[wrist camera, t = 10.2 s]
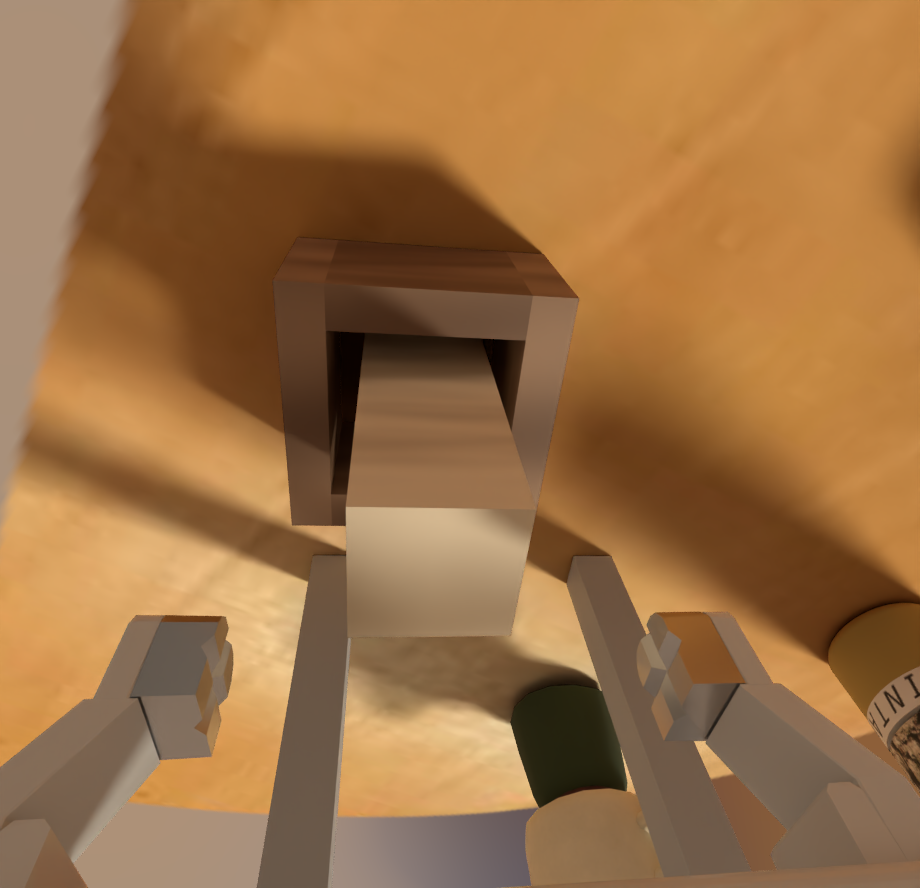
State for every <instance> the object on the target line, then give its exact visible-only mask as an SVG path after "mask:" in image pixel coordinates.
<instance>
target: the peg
mask: <svg viewBox="0 0 920 888" xmlns="http://www.w3.org/2000/svg"><path fill="white" fill-rule="evenodd" d="M535 514H536V507H535V503H534V500H533V497H532V494H531V491H530V488H529V485H528V482H527V479H526V475H525V472H524V469H523V466H522V463H521V460H520V457H519V454H518V451H517V448H516V444H515V441H514V438H513V435H512V432H511V429H510V426H509V423H508V420H507V417H506V413H505V410H504V407H503V404H502V401H501V398H500V395H499V392H498V389H497V386H496V382H495V379H494V376H493V373H492V370H491V367H490V364H489V361H488V358H487V354H486V351H485V348H484V345H483V342H482V339H481V338H463V337H443V336H423V335H403V334H382V333H365V339H364V348H363V357H362V366H361V375H360V384H359V392H358V401H357V410H356V419H355V428H354V437H353V446H352V455H351V464H350V473H349V482H348V491H347V500H346V567H347V638H385V637H458V636H511V631H512V627H513V622H514V617H515V612H516V607H517V602H518V597H519V592H520V588H521V583H522V578H523V573H524V568H525V563H526V558H527V553H528V549H529V544H530V539H531V534H532V529H533V524H534V519H535Z"/></svg>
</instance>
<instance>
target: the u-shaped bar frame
mask: <svg viewBox="0 0 920 888" xmlns="http://www.w3.org/2000/svg"><path fill="white" fill-rule="evenodd" d="M567 587H568V590H569V593H570V596H571V599H572V602H573V605H574V608H575V611H576V614H577V617H578V620H579V623H580V626H581V629H582V632H583V635H584V638H585V641H586V644H587V647H588V650H589V653H590V656H591V659H592V662H593V665H594V668H595V671H596V674H597V677H598V680H599V683H600V686H601V689H602V692H603V695H604V698H605V701H606V704H607V707H608V710H609V713H610V716H611V719H612V722H613V725H614V728H615V731H616V734H617V737H618V740H619V743H620V746H621V749H622V752H623V755H624V758H625V761H626V764H627V767H628V770H629V773H630V776H631V779H632V782H633V785H634V788H635V791H636V794H637V797H638V800H639V803H640V806H641V809H642V812H643V815H644V818H645V821H646V824H647V827H648V830H649V833H650V836H651V839H652V842H653V845H654V848H655V851H656V854H657V857H658V860H659V863H660V866H661V869H662V872H663V875H664V877H675V876H690V875H705V874H721V873H736V872H752V871H751V869H750V867H749V865H748V862H747V860H746V858H745V856H744V853H743V851H742V849H741V847H740V844H739V842H738V840H737V838H736V835H735V833H734V831H733V829H732V827H731V824H730V822H729V820H728V818H727V815H726V813H725V811H724V809H723V806H722V804H721V802H720V799H719V797H718V795H717V793H716V791H715V788H714V786H713V784H712V781H711V779H710V777H709V775H708V772H707V770H706V768H705V766H704V763H703V761H702V759H701V757H700V754H699V752H698V750H697V748H696V745H695V743H694V741H664V740H663V738H662V735H661V733H660V730H659V727H658V725H657V722H656V720H655V717H654V715H653V712H652V709H651V707H652V704H653V701H654V697H653V696H652V695H651V694H650V693H649V692H648V691H647V690H645V689H644V688H643V686H642V683H641V680H640V678H639V674H638V669H637V648H638V646H639V643H640V640H641V639H642V638H643V637H645V636H646V633H645V631H644V628H643V626H642V624H641V622H640V619H639V617H638V615H637V613H636V610H635V608H634V606H633V604H632V602H631V599H630V597H629V595H628V593H627V590H626V588H625V586H624V584H623V581H622V579H621V577H620V575H619V572H618V570H617V568H616V566H615V563H614V561H613V559H612V557H611V556H574V557H573V560H572V564H571V568H570V572H569V576H568V580H567ZM350 645H351V638H347V567H346V555H313V558H312V564H311V570H310V575H309V581H308V587H307V593H306V599H305V605H304V611H303V617H302V623H301V629H300V635H299V641H298V646H297V652H296V658H295V664H294V670H293V676H292V682H291V688H290V694H289V700H288V706H287V712H286V718H285V723H284V729H283V735H282V741H281V747H280V753H279V759H278V765H277V771H276V777H275V783H274V789H273V795H272V800H271V806H270V812H269V818H268V825H267V831H266V836H265V842H264V848H263V854H262V860H261V866H260V872H259V877H258V884H257V888H332V877H333V865H334V853H335V840H336V827H337V814H338V801H339V788H340V775H341V762H342V749H343V736H344V723H345V710H346V697H347V684H348V671H349V658H350Z"/></svg>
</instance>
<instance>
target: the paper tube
mask: <svg viewBox="0 0 920 888" xmlns="http://www.w3.org/2000/svg"><path fill="white" fill-rule="evenodd" d="M828 663H829V666H830V668H831V670H832V672H833V673H834V674H835V676H836V677H837V678H838V680H839V681H840V683H841V684H842V685H843V687H844V688H845V690H846V691H847V692H848V694H849V695H850V696H851V698H852V699H853V701H854V702H855V703H856V705H857V706H858V707H859V709H860V710H861V712H862V713H863V714H864V716H865V717H866V718H867V720H868V721H869V723H870V725H871V726H872V727H873V729H874V730H875V732H876V733H877V734H878V736H879V737H880V738H881V740H882V741H883V743H884V744H885V745H886V747H887V748H888V749H889V751H890V752H891V753H892V755H893V756H894V758H895V759H896V760H897V762H898V763H899V765H900V766H901V767H902V769H903V770H904V771H905V773H906V774H907V776H908V777H909V778H910V780H911V781H912V783H913V784H914V785H915V786H916V788H917V789H918V791H919V792H920V605H919V604H915V603H895V604H889V605H884V606H881V607H878V608H875V609H872V610H870V611H867V612H865V613H863V614H861V615H860V616H858V617H856V618H855V619H853V620H852V621H850V622H849V623H848V624H846V625H845V626H844V627H843V628H842V629H841V630H840V631H839V632H838V633H837V635H836V636H835V637H834V639H833V640H832V642H831V644H830V647H829V650H828Z"/></svg>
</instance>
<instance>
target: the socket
mask: <svg viewBox="0 0 920 888" xmlns="http://www.w3.org/2000/svg"><path fill="white" fill-rule="evenodd" d="M273 293H274V306H275V318H276V331H277V343H278V356H279V368H280V381H281V393H282V406H283V419H284V431H285V444H286V456H287V469H288V481H289V494H290V507H291V519H292V525H314V526H346V500H347V491H348V482H349V473H350V464H351V455H352V446H353V437H354V428H355V422H342V399H341V347H340V331H342V332H362V333H382V334H403V335H423V336H443V337H463V338H484V339H495V341H494V349H493V356H492V364H491V370H492V373H493V376H494V379H495V382H496V386H497V389H498V392H499V395H500V398H501V401H502V404H503V407H504V410H505V413H506V417H507V420H508V423H509V426H510V429H511V432H512V435H513V438H514V441H515V444H516V448H517V451H518V454H519V457H520V460H521V463H522V466H523V469H524V472H525V475H526V479H527V482H528V485H529V488H530V491H531V494H532V497H533V500H534V503H535V507H536V510H537V505H538V501H539V496H540V491H541V486H542V481H543V476H544V471H545V466H546V461H547V456H548V451H549V446H550V441H551V436H552V431H553V426H554V421H555V416H556V411H557V406H558V401H559V396H560V391H561V386H562V381H563V376H564V371H565V366H566V362H567V357H568V352H569V347H570V342H571V337H572V332H573V327H574V322H575V317H576V312H577V307H578V302H579V298H578V296H577V295H576V294H575V293H574V291H573V290H572V289H571V288H570V287H569V285H568V284H567V283H566V282H565V280H564V279H563V278H562V277H561V275H560V274H559V273H558V272H557V270H556V269H555V268H554V267H553V265H552V264H551V263H550V262H549V260H548V259H547V258H546V257H545V255H544V254H535V253H521V252H506V251H492V250H477V249H462V248H448V247H433V246H419V245H404V244H390V243H375V242H360V241H346V240H331V239H317V238H302V237H297V239H296V241H295V242H294V244H293V246H292V248H291V249H290V251H289V253H288V255H287V256H286V258H285V260H284V261H283V263H282V265H281V267H280V268H279V270H278V272H277V273H276V275H275V277H274V279H273ZM535 515H536V514H535ZM534 520H535V519H534ZM533 525H534V524H533Z"/></svg>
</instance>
